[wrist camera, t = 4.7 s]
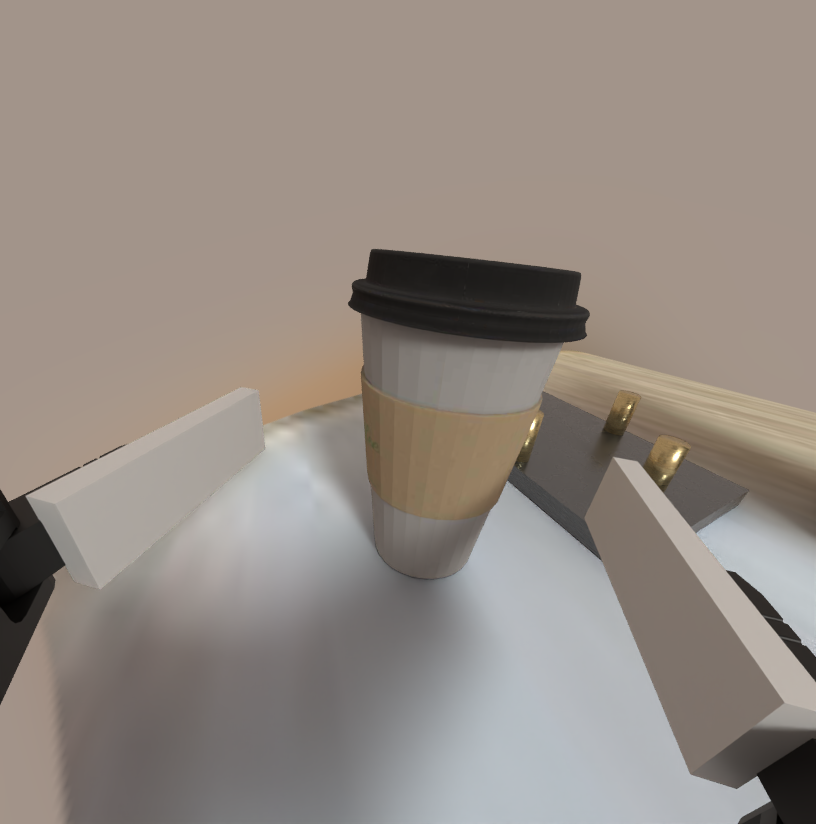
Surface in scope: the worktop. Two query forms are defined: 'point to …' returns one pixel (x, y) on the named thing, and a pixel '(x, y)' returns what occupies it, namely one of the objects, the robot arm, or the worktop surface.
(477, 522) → the coffee cup
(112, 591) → the worktop surface
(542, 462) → the pin plate
